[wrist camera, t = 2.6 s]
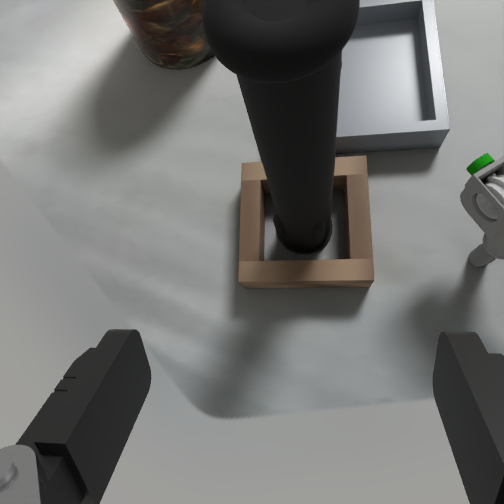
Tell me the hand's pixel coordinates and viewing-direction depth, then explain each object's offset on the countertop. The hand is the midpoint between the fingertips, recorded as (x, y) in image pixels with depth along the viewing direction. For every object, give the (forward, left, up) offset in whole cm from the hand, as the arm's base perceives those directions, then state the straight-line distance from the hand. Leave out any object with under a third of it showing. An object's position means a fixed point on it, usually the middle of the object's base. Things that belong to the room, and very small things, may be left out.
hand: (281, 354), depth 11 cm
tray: (-5, -27, -24) cm, 37 cm away
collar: (0, -12, -24) cm, 27 cm away
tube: (0, -12, -24) cm, 27 cm away
